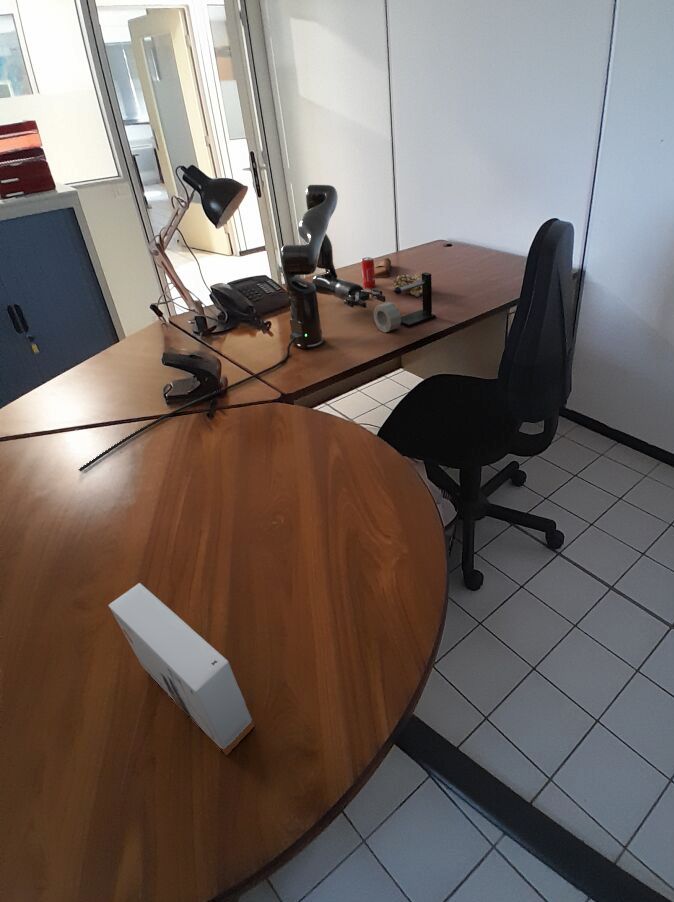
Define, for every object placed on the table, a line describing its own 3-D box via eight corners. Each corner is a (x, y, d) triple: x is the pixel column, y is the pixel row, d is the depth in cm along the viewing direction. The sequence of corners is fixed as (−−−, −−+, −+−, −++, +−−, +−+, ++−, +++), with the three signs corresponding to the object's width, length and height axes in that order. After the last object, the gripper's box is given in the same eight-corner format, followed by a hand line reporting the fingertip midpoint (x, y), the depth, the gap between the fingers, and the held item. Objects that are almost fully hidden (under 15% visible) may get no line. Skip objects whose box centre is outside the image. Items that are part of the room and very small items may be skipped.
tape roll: (391, 335, 190) (389, 309, 185) (374, 328, 196) (372, 302, 191) (401, 331, 192) (400, 305, 188) (384, 324, 199) (383, 299, 194)
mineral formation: (424, 298, 220) (388, 294, 223) (430, 293, 232) (396, 289, 235) (425, 278, 217) (389, 274, 220) (432, 273, 229) (397, 270, 232)
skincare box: (140, 673, 83) (106, 603, 75) (172, 647, 87) (142, 578, 78) (224, 761, 72) (194, 691, 63) (256, 728, 75) (233, 656, 67)
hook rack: (404, 329, 194) (402, 285, 186) (390, 323, 199) (387, 280, 191) (436, 317, 202) (436, 275, 194) (422, 312, 208) (421, 270, 200)
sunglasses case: (373, 265, 262) (379, 252, 259) (386, 272, 264) (392, 260, 261) (370, 276, 247) (377, 263, 244) (384, 284, 248) (391, 271, 245)
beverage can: (370, 289, 234) (368, 261, 227) (361, 287, 236) (358, 259, 230) (377, 285, 237) (376, 258, 231) (368, 283, 240) (366, 256, 234)
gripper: (332, 286, 199) (358, 297, 188) (363, 277, 207) (390, 287, 196) (334, 306, 203) (360, 317, 192) (365, 296, 211) (391, 307, 200)
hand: (375, 302), depth 194 cm, fingers open, 8 cm apart
